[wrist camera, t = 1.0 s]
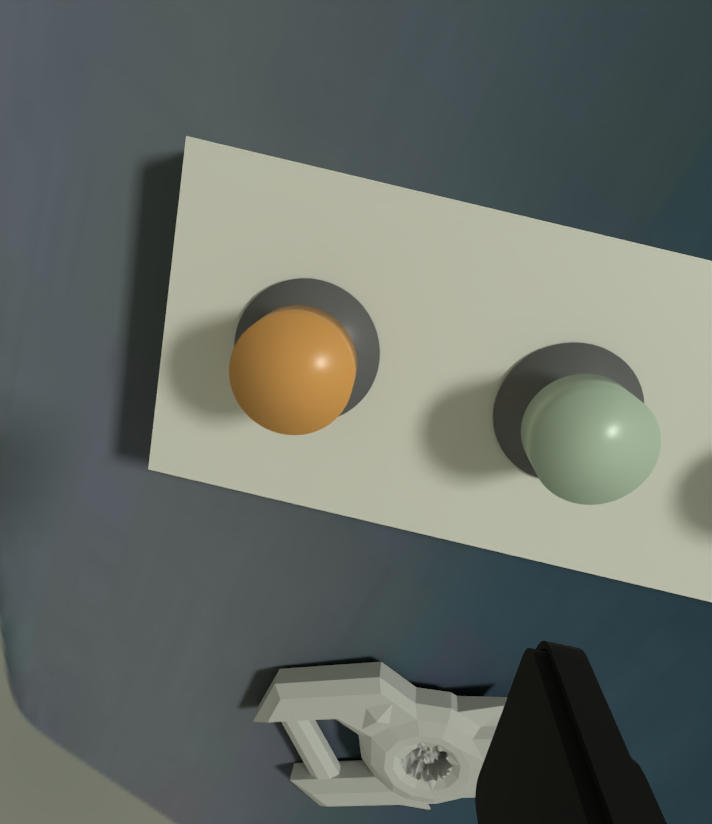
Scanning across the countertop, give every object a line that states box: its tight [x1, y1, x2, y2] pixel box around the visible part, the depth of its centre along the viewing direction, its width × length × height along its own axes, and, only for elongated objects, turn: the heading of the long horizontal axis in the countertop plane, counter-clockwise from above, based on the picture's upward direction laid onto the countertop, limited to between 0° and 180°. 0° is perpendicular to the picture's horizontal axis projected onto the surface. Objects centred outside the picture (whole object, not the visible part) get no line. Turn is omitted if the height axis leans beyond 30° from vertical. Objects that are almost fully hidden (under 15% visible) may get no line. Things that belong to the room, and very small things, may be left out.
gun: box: [253, 662, 507, 810], centre depth 33 cm, size 18×4×10 cm
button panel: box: [148, 136, 712, 602], centre depth 25 cm, size 14×34×3 cm, turn 77°
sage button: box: [521, 373, 661, 505], centre depth 21 cm, size 4×4×2 cm
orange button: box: [229, 305, 357, 435], centre depth 21 cm, size 4×4×2 cm
